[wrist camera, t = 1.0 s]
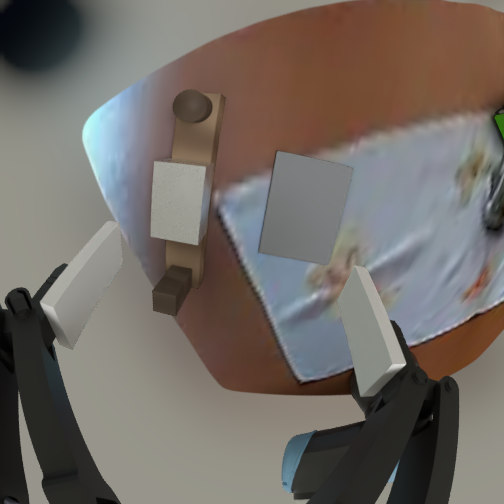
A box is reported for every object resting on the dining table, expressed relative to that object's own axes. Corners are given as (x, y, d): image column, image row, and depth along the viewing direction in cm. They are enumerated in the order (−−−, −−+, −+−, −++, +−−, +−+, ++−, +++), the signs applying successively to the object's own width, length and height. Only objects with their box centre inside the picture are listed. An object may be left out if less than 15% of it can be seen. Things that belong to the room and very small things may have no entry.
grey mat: (327, 264, 38) (328, 265, 37) (258, 251, 38) (258, 252, 38) (352, 167, 32) (353, 168, 32) (277, 150, 32) (277, 150, 32)
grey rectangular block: (206, 233, 34) (197, 245, 31) (163, 225, 34) (150, 236, 31) (214, 163, 31) (206, 166, 27) (167, 157, 31) (154, 161, 27)
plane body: (203, 278, 41) (183, 318, 31) (172, 272, 41) (146, 308, 32) (225, 97, 30) (205, 82, 21) (188, 95, 30) (156, 82, 21)
